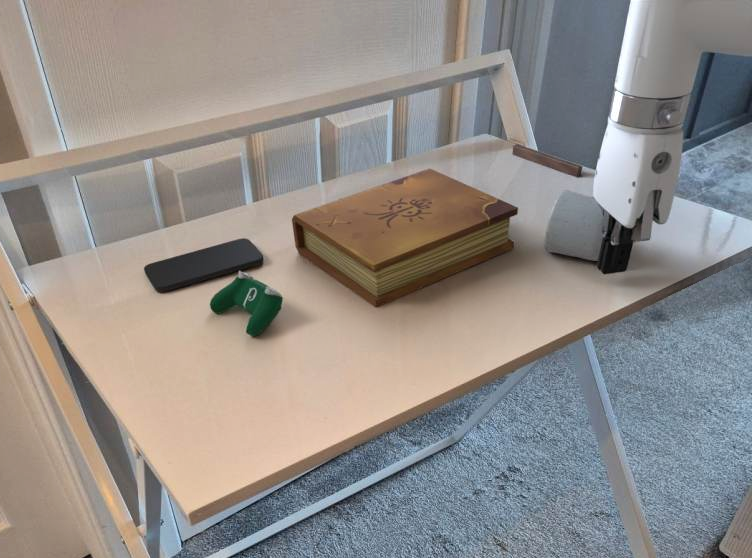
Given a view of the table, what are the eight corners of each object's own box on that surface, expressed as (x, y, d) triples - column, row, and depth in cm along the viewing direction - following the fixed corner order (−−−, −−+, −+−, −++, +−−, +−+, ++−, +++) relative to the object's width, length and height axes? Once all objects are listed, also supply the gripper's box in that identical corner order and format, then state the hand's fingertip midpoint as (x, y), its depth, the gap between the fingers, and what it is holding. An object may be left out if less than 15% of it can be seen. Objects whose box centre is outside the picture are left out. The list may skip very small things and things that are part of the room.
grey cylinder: (603, 273, 85) (616, 213, 80) (540, 260, 89) (549, 202, 83) (623, 239, 92) (637, 182, 87) (564, 228, 95) (573, 172, 90)
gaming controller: (270, 346, 80) (294, 300, 79) (248, 335, 77) (273, 288, 76) (226, 317, 85) (248, 274, 84) (204, 306, 82) (226, 262, 81)
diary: (426, 205, 103) (426, 166, 99) (513, 249, 91) (518, 207, 87) (295, 252, 93) (290, 211, 90) (375, 307, 82) (373, 263, 78)
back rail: (581, 175, 108) (582, 166, 107) (576, 177, 108) (578, 167, 107) (516, 152, 117) (517, 143, 116) (512, 154, 116) (513, 145, 115)
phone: (141, 265, 91) (246, 236, 95) (143, 271, 91) (247, 242, 96) (156, 289, 86) (265, 257, 91) (157, 295, 87) (266, 263, 91)
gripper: (722, 127, 65) (671, 296, 78) (646, 84, 76) (612, 239, 89) (649, 135, 64) (609, 305, 77) (583, 91, 75) (558, 246, 88)
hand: (611, 269), depth 83 cm, fingers closed
